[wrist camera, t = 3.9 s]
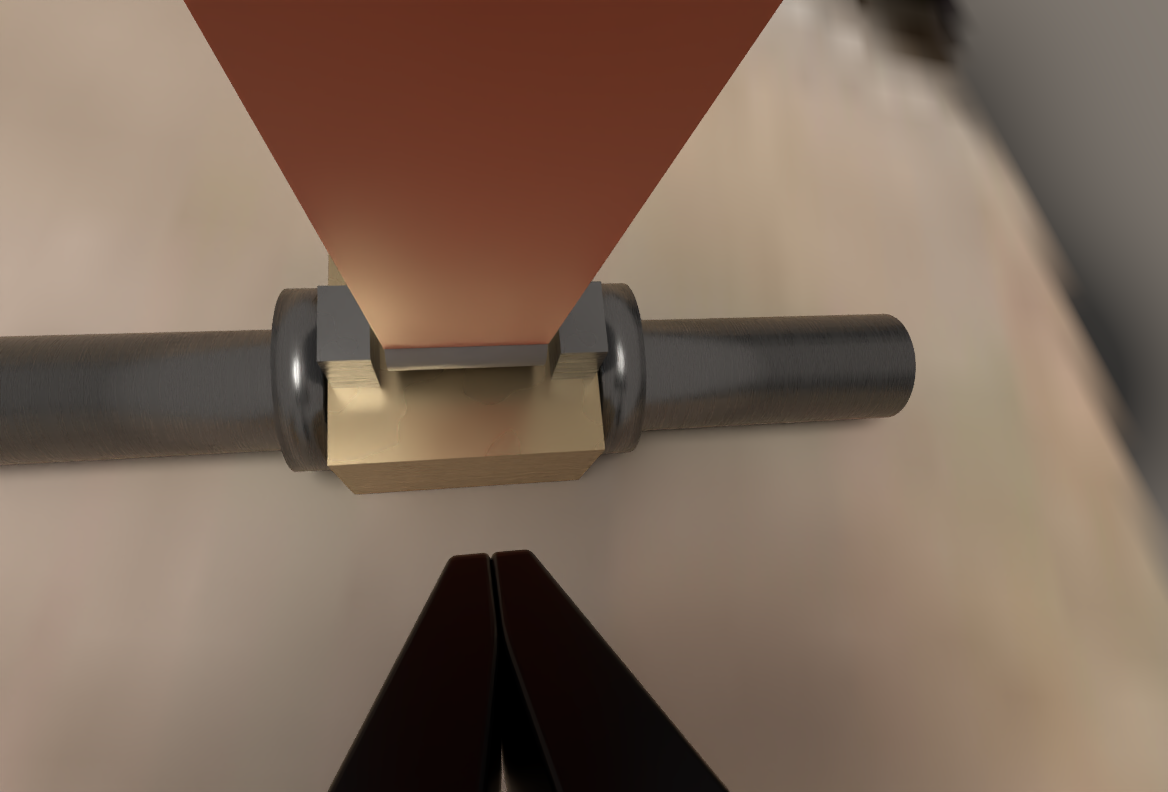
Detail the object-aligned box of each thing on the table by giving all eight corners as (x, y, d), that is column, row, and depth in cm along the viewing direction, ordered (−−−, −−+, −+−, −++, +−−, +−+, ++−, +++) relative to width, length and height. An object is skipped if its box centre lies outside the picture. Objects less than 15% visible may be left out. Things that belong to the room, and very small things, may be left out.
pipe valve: (872, 460, 22) (1011, 409, 16) (-33, 519, 17) (-263, 477, 12) (841, 306, 23) (959, 212, 17) (-6, 326, 19) (-201, 209, 13)
